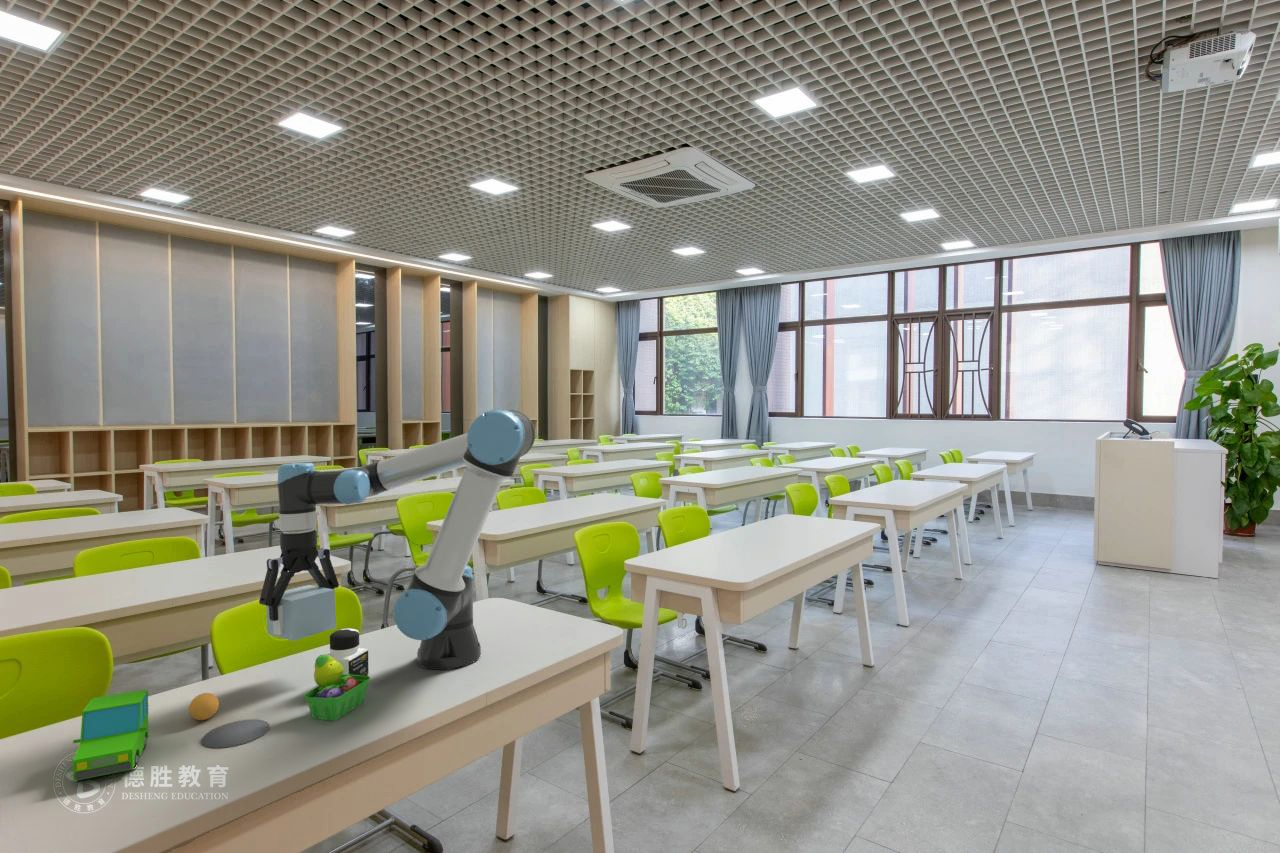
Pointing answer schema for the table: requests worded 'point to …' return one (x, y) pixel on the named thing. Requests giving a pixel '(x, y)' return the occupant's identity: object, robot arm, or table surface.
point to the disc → (235, 733)
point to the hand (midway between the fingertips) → (302, 627)
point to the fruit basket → (334, 690)
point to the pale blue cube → (306, 612)
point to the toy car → (112, 734)
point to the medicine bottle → (349, 652)
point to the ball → (203, 706)
